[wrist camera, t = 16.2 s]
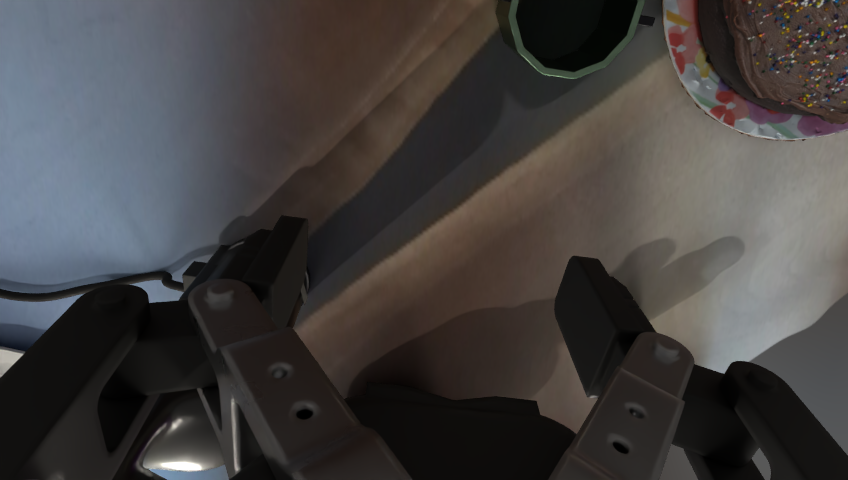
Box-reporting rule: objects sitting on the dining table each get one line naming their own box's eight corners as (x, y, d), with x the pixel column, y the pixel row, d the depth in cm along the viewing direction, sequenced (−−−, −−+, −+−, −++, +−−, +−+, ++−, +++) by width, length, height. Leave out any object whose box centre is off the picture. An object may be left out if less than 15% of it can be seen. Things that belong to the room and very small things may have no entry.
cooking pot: (472, 52, 40) (480, 64, 34) (496, -74, 35) (510, -85, 30) (603, 74, 41) (632, 89, 35) (641, -47, 36) (682, -53, 31)
